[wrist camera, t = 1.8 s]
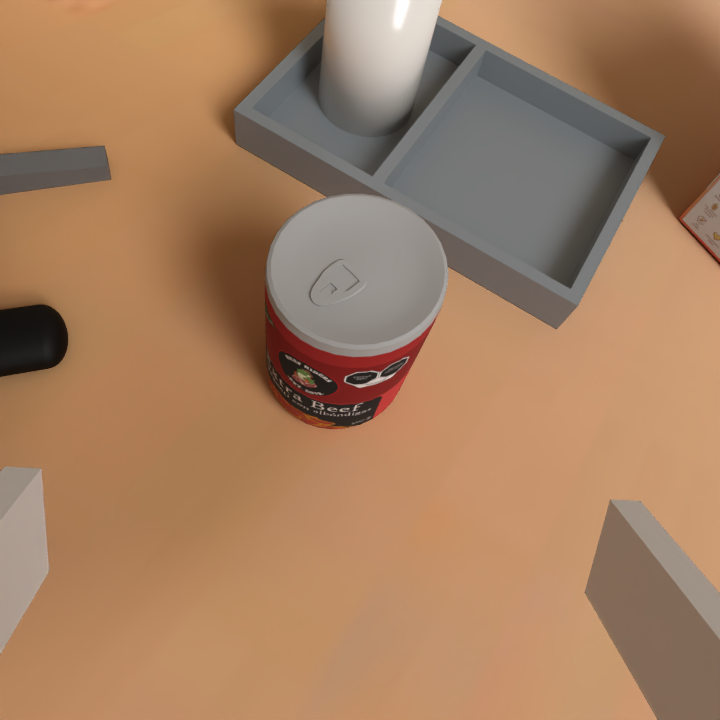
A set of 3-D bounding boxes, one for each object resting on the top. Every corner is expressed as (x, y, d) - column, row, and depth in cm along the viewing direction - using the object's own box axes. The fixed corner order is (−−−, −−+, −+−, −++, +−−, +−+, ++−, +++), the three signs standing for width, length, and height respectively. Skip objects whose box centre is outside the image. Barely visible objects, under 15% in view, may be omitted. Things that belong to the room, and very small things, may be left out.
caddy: (235, 144, 42) (233, 109, 40) (359, 14, 49) (365, -23, 46) (556, 329, 40) (577, 305, 37) (642, 166, 46) (665, 136, 44)
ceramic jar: (299, 106, 43) (307, -37, 34) (350, 51, 46) (369, -95, 37) (383, 152, 43) (413, 19, 34) (429, 94, 45) (469, -43, 36)
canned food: (239, 388, 36) (227, 288, 26) (315, 286, 39) (331, 161, 29) (357, 461, 35) (392, 387, 25) (425, 350, 38) (480, 245, 28)
